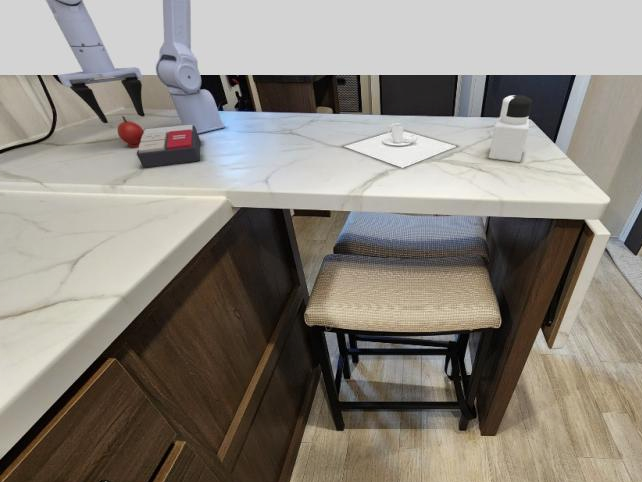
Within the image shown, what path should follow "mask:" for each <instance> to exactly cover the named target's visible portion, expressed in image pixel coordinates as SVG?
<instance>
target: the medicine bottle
mask: <svg viewBox="0 0 642 482" xmlns="http://www.w3.org/2000/svg"><path fill="white" fill-rule="evenodd" d="M532 105H533V100H532V98H531V97H529V96H525V95H521V94H519V95H518V94H517V95H516V94H515V95H513V94H512V95H508V96H506V97H504V98H503V99H502V103H501V109H500V114H499V117H497V120H496V122H495V124H494V126H493V132H492V136H491V137H492V138H491V142H490V147H489V153H488V159H492V160H500V161H506V162H507V161H508V162H515V163H520V162H521V160H522V157H523V152H524V148H525V145H526V141H527V136H528V133H529V129H530V123H531V120H530V119H529V117H530V113H531V110H532Z"/></svg>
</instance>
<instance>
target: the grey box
mask: <svg viewBox="0 0 642 482" xmlns="http://www.w3.org/2000/svg"><path fill="white" fill-rule="evenodd" d="M200 146H201V139H200V136H199V134H198V133H197V131H196V128H195V126H192V125H183V126H182V125H173V126H164V127H151V128H144V129H143V134H142V137H141V141H140V144H139V147H137V151H136V157H137V158H138V160H139V161H140V162H139V163H141V165H142V167H143V169H147V168H155V167H162V166H171V165H179V164H186V163H194V162H199V161H200V160H201V148H200Z"/></svg>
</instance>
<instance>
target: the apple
mask: <svg viewBox="0 0 642 482" xmlns="http://www.w3.org/2000/svg"><path fill="white" fill-rule="evenodd" d="M121 118H122V120H123V121H122V122H120V123H119V124H118V126H117V134H118V137H119V138H120V139H121V140H122V141H123V142H124V143H125V144H127V146H128V147H129V148H138V147H139V144H140V141H141V137H142V134H143V131H144V129H143V128H142V126H140V125H139V124H138V123H135V122H133V121H127V119H126V117H125V116H124V115H122V116H121Z"/></svg>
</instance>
